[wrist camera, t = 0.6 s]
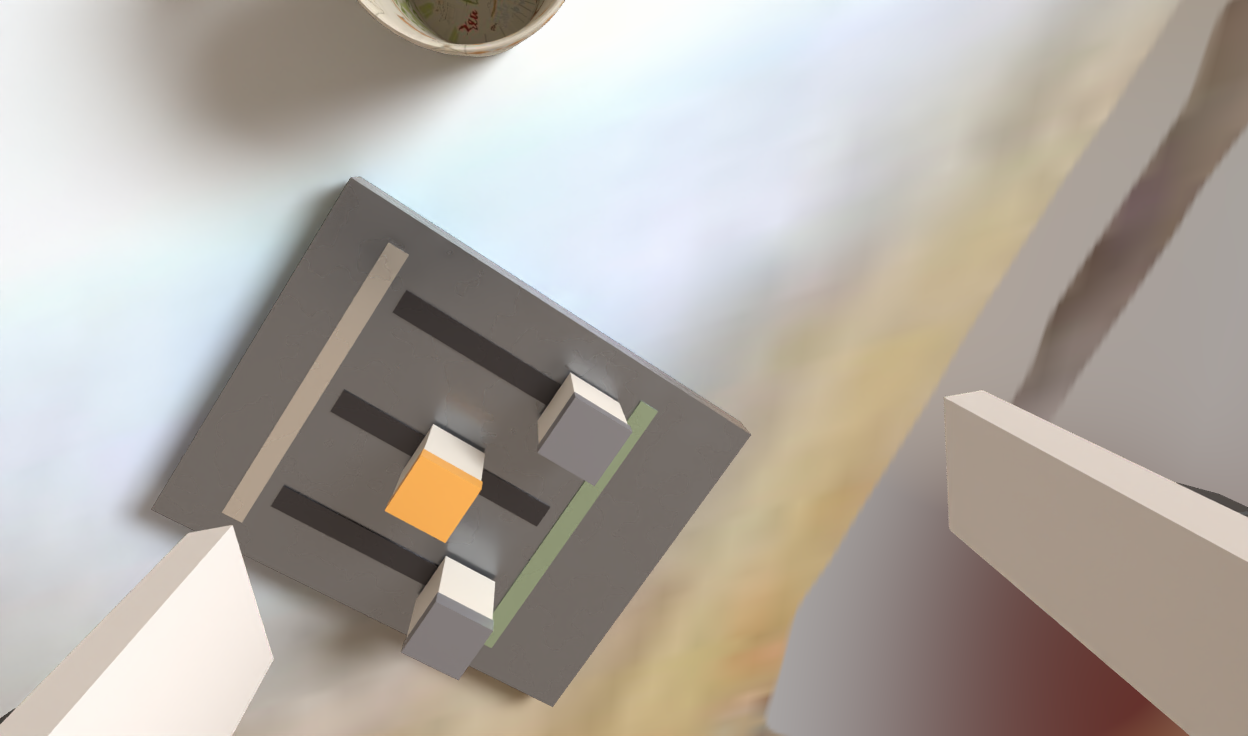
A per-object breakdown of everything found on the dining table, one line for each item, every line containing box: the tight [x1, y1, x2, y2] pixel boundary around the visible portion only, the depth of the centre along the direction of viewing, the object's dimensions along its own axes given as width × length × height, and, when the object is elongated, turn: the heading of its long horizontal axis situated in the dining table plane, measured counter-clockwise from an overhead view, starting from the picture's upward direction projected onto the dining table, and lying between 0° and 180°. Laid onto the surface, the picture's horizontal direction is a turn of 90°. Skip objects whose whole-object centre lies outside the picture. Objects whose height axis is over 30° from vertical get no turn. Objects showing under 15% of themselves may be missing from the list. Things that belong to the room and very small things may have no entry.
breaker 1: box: [401, 556, 495, 680], centre depth 36 cm, size 3×3×4 cm
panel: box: [151, 177, 751, 707], centre depth 38 cm, size 22×18×2 cm
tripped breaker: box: [385, 424, 485, 543], centre depth 34 cm, size 3×3×4 cm
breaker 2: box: [537, 373, 632, 486], centre depth 34 cm, size 3×3×4 cm
